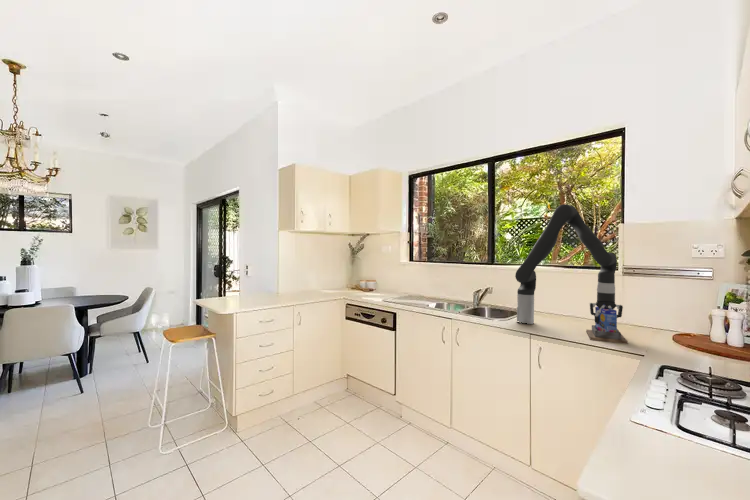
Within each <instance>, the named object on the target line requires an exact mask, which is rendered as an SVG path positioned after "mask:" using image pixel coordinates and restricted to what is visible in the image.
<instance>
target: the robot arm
mask: <svg viewBox="0 0 750 500" xmlns="http://www.w3.org/2000/svg"><path fill="white" fill-rule="evenodd" d="M566 223H567V224H568V225H569V226H570V227H571V228H572V229H573V230H574V231H575V232H576V235H577V236H578V239H579V240H580V241H581V243H582V244H583V246H585V248H586V249H587V250H588V251H589V253H590V255H591V256H592V258H593V259H594V261H595V262H596V263H597V264H598V265H599V266H600V270H599V272H597V273H598V274H597V287H596V302H589V312H590V315H591V316H594V324H595V323H596V324H598V315H599V314H600V313H601V309H606V308H605V306H604V305H603V304H605V305H606V307H607V309H614V310H615V308H616V309H617V319H619V318H622V316H623V309H624V307H623V305H622V304H617V303H616V283H615V282H616V280H615V279H616V278H615V277H616V276H615V274H616V269H617V266H618V265H617V264H618V259H617V256H616V254H615V253H613V252H610V251H609V252H608V251H607V249H606V248H605V247H604V243H603V242H602V241H601V240H600V239H599V238H598V236H597V234H595V233H594V232H593V231H592V230H591V228H590V227H589V226H588V225H587V223H586V222H585V220H583V218H582V216H581V215H580V213H579V211H578V210H577V208H576V207H575V206H574V205H570V204H566V203H565V204H560V205H559V206H557V207H556V208H555V209H554V212H553V213H552V215H551V218H550V220H549V222H548V223H547V225H546V227H545V228H544V230H543V232H542V233H541V234H540V236H539V237H538V239H537V240H536V242H535V244H534V245H533V247H532V248H531V250H530V252H529V253H528V255H527V257H526V258H525V260H524V261H523V263H521V265H520V266H519V267H518V269H517V270H516V272H515V276H514V277H515V279H516V282H518V283H519V285H520V286H519V287H518V289H517V295H516V296H517V303H516V304H517V305H516V306H517V307H516V322H517V321H519V322H522V323H527V324H526V325H533V323H535V291H536V286H537V274H536V270H535V269H536V268H537V266H538V265H540V263H542V262H543V261H544V260H545V259H546V258H547V257H548V256H549V255H550V253H551V252H552V251H553V249H554V248H555V246H556V244H557V241H558V237H559V233H560V231H561V229H562V228H563V227H564V225H565V224H566ZM595 307H598V308H599V310H597V311H596V313H595V312H594V311H595V310H594V308H595ZM522 323H521V324H522Z"/></svg>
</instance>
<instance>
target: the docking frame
mask: <svg viewBox="0 0 750 500" xmlns="http://www.w3.org/2000/svg"><path fill="white" fill-rule="evenodd" d="M585 332H586V334H587V336H588V338H589V340H591V341H597V342H606V343H607V342H608V343H616V344H625V345H626V344H627V345H628V344H629V343H628V340H627V339H626V337H625V336H624V335H623V334H622V333H621V331H619V329H618V328H617V333H614V332H604V331H597V329H596V328H595V325H594V324H591V329H586V331H585Z"/></svg>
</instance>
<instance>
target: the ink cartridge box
mask: <svg viewBox="0 0 750 500" xmlns="http://www.w3.org/2000/svg"><path fill="white" fill-rule="evenodd" d="M603 305H604V306H605V308H606V309H601V313H600V314H599V315H598V324H596V323H595V322H594V324H595V328H596V329H597V331H604V332H614V333H617V329H618V318H617V315H618V310H616V309H615V308H614V309H607V307H606V305H605V304H603ZM594 309H595V310H594V311H595V312H594V313H596V311H597V310H599V308H598V307H597V306H595V307H594Z"/></svg>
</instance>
